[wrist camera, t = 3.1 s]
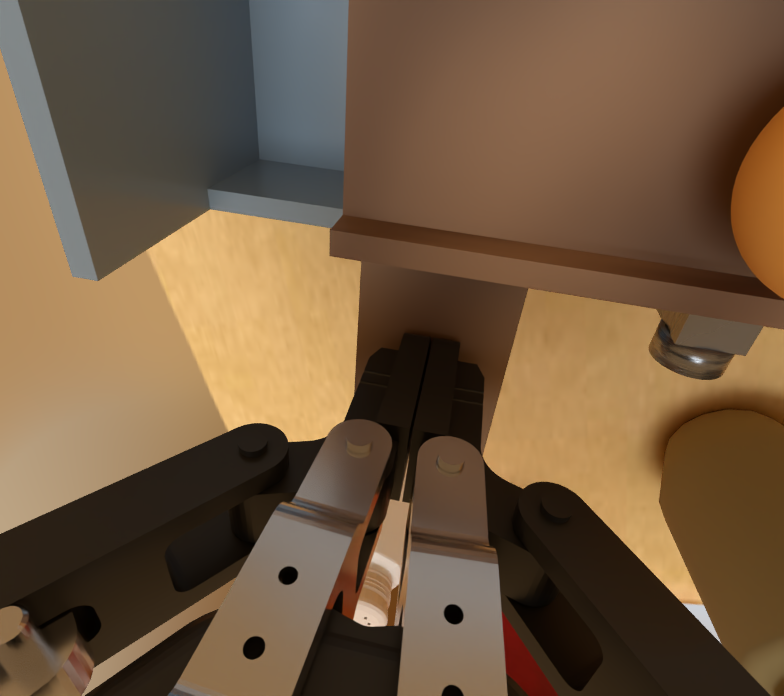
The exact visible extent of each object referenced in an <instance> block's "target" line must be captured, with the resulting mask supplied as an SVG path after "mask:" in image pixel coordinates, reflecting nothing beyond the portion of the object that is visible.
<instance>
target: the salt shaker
mask: <svg viewBox="0 0 784 696" xmlns="http://www.w3.org/2000/svg"><path fill="white" fill-rule="evenodd" d="M408 460H409V459H408ZM407 467H408V463H407ZM406 473H407V468H406ZM406 473H405V477H404V482H403V486H402V491H401V496H400V500H399V501H396V500H391V499H390V502H389V506H388V510H387V514H386V517H385V520H384V521H383V525H382V530H381V533H380V536H379V539H378V542H377V545H376V548H375V551H374V554H373V557H372V560H371V563H370V566H369V569H368V572H367V575H366V578H365V581H364V584H363V587H362V590H361V593H360V596H359V599H358V603H357V606H356V610H355V614H354V619H353V620H354V621H356V622H357V623H359V624H361V625H364V626H370V627H375V626H386V624H387V620H388V610H387V609H388V607H389V603H390V599H391V595H390V592H391V590H392V589H393V588H394V587H396V586H397V585H399V581H400V571H401V562H402V552H403V542H404V534H405V528H406V522H407V516H408V509H409V503H406V502H402V500H403V493H404V486H405V480H406Z"/></svg>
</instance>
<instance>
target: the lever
mask: <svg viewBox="0 0 784 696" xmlns="http://www.w3.org/2000/svg"><path fill="white" fill-rule="evenodd" d="M783 107H784V0H349V6H348V42H347V78H346V114H345V150H344V185H343V215H342V216H341V217H340V219H339V220H338V221H337V222H336V223H335V225H334V226H333V227H332V228H331V229H330V256H333V257H339V258H345V259H352V260H358V261H361V279H360V298H359V317H358V336H357V354H356V373H355V392H356V390H357V387H358V385H359V383H360V379H361V377H362V374H363V372H364V369H365V367H366V364H367V362H368V359H369V357H370V356H371V355H373V354H374V353H375V352H376V351H378V350H379V349H380V348H381V347H382V348H388V349H394V350H399V347H400V344H401V341H402V338H403V334H404V333H410V334H416V335H422V336H427V337H431V343H430V349H429V355H430V351H431V346H432V341H433V338H439V339H445V340H451V341H457V342H460V349H459V357H458V361H461V362H467V363H472V364H477V365H478V367H479V369H480V371H481V372H482V374H483V376H484V378H485V379H484V398H483V417H482V436H481V453H482V455H483V452H484V448H485V444H486V441H487V437H488V433H489V430H490V426H491V422H492V419H493V415H494V411H495V408H496V404H497V401H498V397H499V393H500V390H501V386H502V382H503V379H504V375H505V371H506V368H507V364H508V360H509V357H510V353H511V349H512V346H513V342H514V338H515V335H516V331H517V327H518V324H519V320H520V316H521V313H522V309H523V305H524V302H525V298H526V294H527V291H528V288H531V289H537V290H543V291H549V292H556V293H562V294H568V295H574V296H580V297H587V298H593V299H599V300H605V301H611V302H617V303H624V304H630V305H636V306H642V307H648V308H654V309H661V310H667V311H673V312H679V313H685V314H692V315H698V316H704V317H710V318H716V319H722V320H729V321H735V322H741V323H747V324H753V325H760V326H766V327H772V328H778V329H784V299H783V298H781V297H780V296H778V295H777V294H776V293H774V292H773V291H772V290H770V289H769V288H768V287H767V286H765V285H764V284H763V283H762V282H761V281H760V280H759V279H758V278H757V277H756V276H755V275H754V274H753V272H752V271H751V270H750V268H749V267H748V265H747V264H746V262H745V261H744V259H743V258H742V256H741V254H740V251H739V249H738V247H737V244H736V241H735V238H734V235H733V230H732V225H731V201H732V192H733V188H734V184H735V180H736V176H737V174H738V171H739V169H740V166H741V164H742V162H743V160H744V158H745V156H746V154H747V152H748V151H749V149H750V147H751V145H752V144H753V142H754V141H755V140H756V138H757V137H758V135H759V134H760V132H761V131H762V130H763V129H764V127H765V126H766V125H767V124H768V123H769V122H770V120H771V119H772V118H773V117H774V116H775V115H776V114H777V113H778V112H779V111H780V110H781V109H782V108H783ZM429 355H428V360H429ZM427 364H428V362H427ZM426 369H427V368H426ZM355 392H354V395H355Z"/></svg>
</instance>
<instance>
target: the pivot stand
mask: <svg viewBox="0 0 784 696" xmlns="http://www.w3.org/2000/svg"><path fill="white" fill-rule="evenodd" d="M657 311H658V313H659V315H660V317H661V321H660V323H659V325H658V327H657V329H656V332H655V334H654V336H653V338H652V340H651V342H650V344H649V352H650V354H651V355H652V357H653V358H654V359H655V360H656V361H657V362H659V363H660V364H661V365H663V366H664V367H666V368H668V369H670V370H671V371H674V372H676V373H678V374H681V375H684V376H687V377H690V378H695V379H701V380H712V379H717V378H719V377H721V376H722V375H723V373H724V372H725V370H726V368H727V367H728V365H729V363H730V362H731V360H732V358H733V357H734V355H735V354H737V355H743V356H746V354H747V353H748V351H749V349H750V348H751V346H752V344H753V343H754V341H755V339H756V338H757V336H758V335H759V333H760V331H761V330H762V328H763V326H760V325H753V324H747V323H741V322H735V321H729V320H722V319H716V318H710V317H704V316H698V315H692V314H685V313H679V312H673V311H667V310H661V309H657Z"/></svg>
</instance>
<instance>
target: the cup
mask: <svg viewBox="0 0 784 696" xmlns="http://www.w3.org/2000/svg"><path fill="white" fill-rule="evenodd" d="M348 6H349V0H0V49H1V52H2V55H3V59H4V62H5V65H6V68H7V71H8V74H9V78H10V81H11V84H12V87H13V90H14V93H15V96H16V99H17V103H18V106H19V109H20V112H21V115H22V119H23V122H24V125H25V128H26V131H27V134H28V137H29V140H30V144H31V147H32V150H33V153H34V156H35V160H36V163H37V166H38V169H39V172H40V175H41V178H42V182H43V185H44V188H45V191H46V194H47V197H48V200H49V203H50V207H51V210H52V213H53V216H54V219H55V223H56V225H57V228H58V232H59V235H60V238H61V241H62V245H63V248H64V251H65V254H66V257H67V260H68V263H69V266H70V270H71V273H72V276H73V277H78V278H84V279H90V280H95V281H99V280H100V279H102V278H104V277H105V276H107V275H108V274H110V273H111V272H113V271H114V270H116V269H118V268H119V267H121V266H122V265H124V264H125V263H127V262H128V261H130V260H132V259H133V258H135V257H136V256H138V255H139V254H141V253H142V252H144V251H146V250H147V249H149V248H150V247H152V246H153V245H155V244H157V243H158V242H160V241H161V240H163V239H164V238H166V237H167V236H169V235H171V234H172V233H174V232H175V231H177V230H178V229H180V228H181V227H183V226H185V225H186V224H188V223H189V222H191V221H192V220H194V219H195V218H197V217H199V216H200V215H202V214H203V213H205V212H206V211H208V210H209V209H212V210H218V211H225V212H231V213H238V214H244V215H251V216H257V217H263V218H270V219H276V220H283V221H289V222H296V223H302V224H309V225H315V226H321V227H328V228H332V227H333V226H334V225H335V223H336V222H337V221H338V220H339V219H340V217H341V216H342V215H343V185H344V150H345V114H346V78H347V42H348Z"/></svg>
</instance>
